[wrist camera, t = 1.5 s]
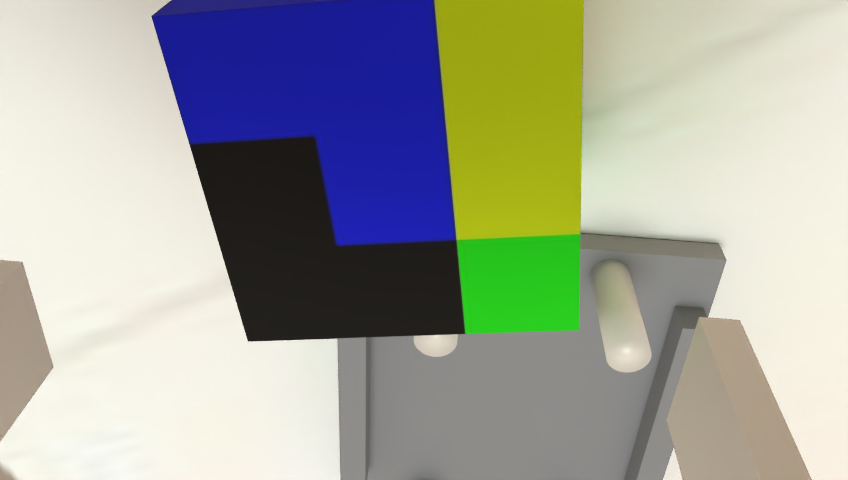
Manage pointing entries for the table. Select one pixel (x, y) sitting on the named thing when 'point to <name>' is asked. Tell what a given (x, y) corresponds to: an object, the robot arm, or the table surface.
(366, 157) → the puzzle toy
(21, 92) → the table surface
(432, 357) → the tray
